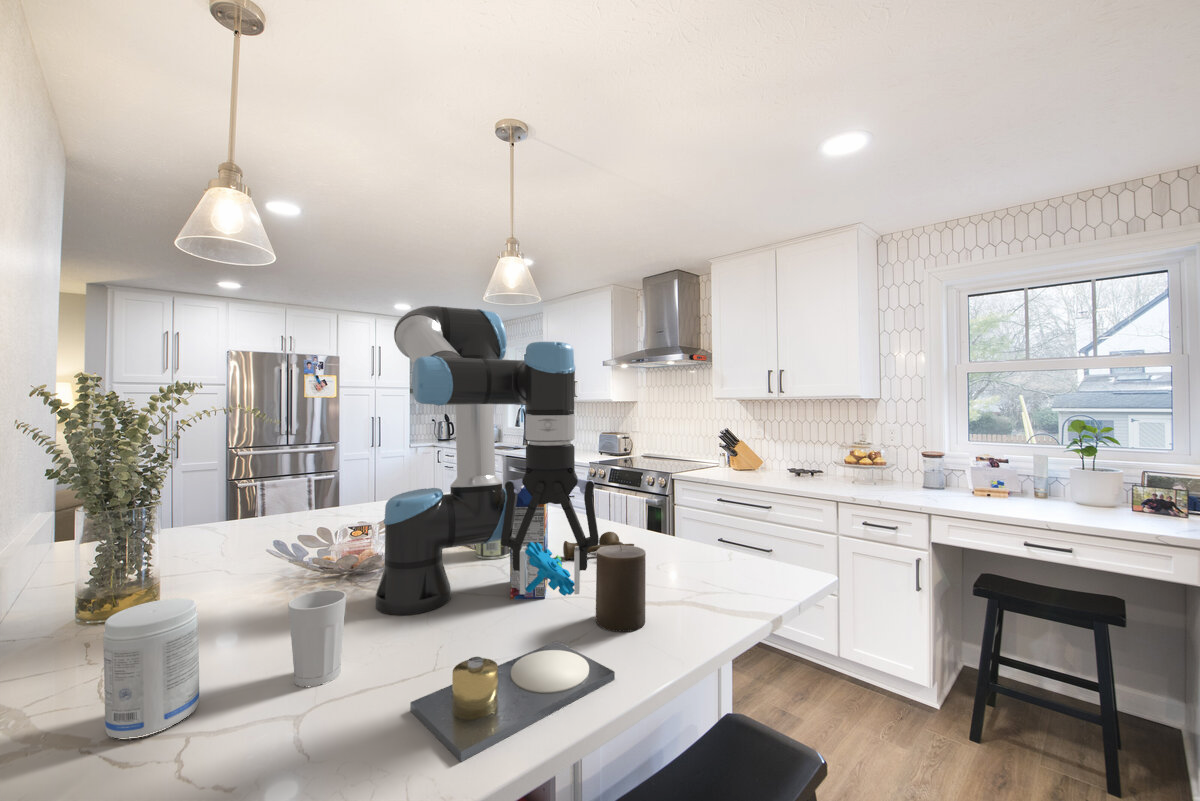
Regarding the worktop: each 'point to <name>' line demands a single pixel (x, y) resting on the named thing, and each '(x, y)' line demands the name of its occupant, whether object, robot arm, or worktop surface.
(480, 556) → the coffee can
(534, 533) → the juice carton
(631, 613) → the pillar candle
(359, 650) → the worktop surface
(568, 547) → the kendama
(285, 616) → the worktop surface
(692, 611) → the worktop surface
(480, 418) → the robot arm
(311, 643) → the cup
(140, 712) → the supplement tub
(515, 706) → the carrier plate
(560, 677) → the disc
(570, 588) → the gear
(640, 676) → the worktop surface
